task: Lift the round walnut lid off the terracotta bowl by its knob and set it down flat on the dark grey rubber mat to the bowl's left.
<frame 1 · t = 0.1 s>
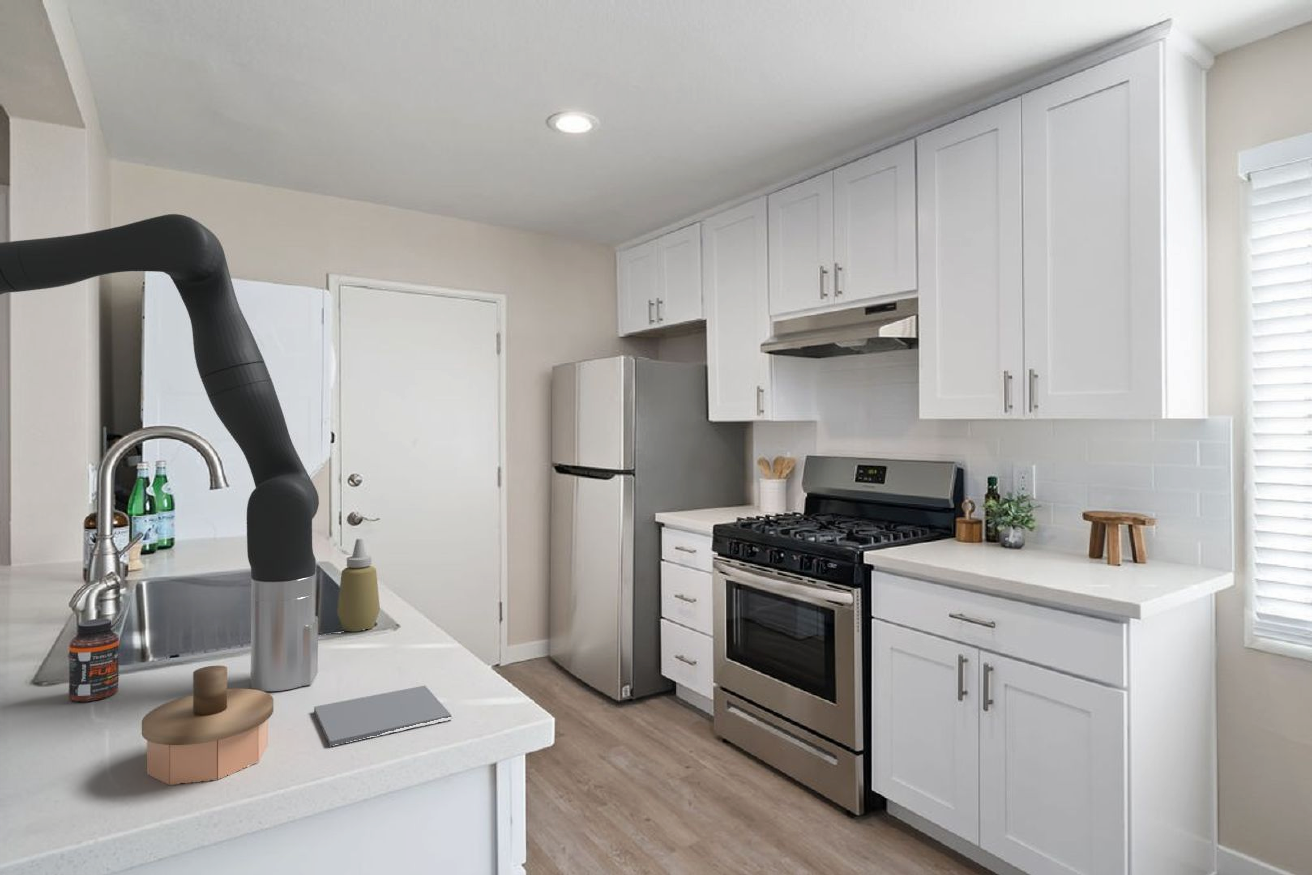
mat: (382, 716, 104), on the worktop
squeeze bottle: (358, 628, 145), on the worktop
bowl: (210, 758, 90), on the worktop
lid: (210, 719, 90), point 5 cm above the worktop, touching bowl
supplement bottle: (94, 696, 109), on the worktop
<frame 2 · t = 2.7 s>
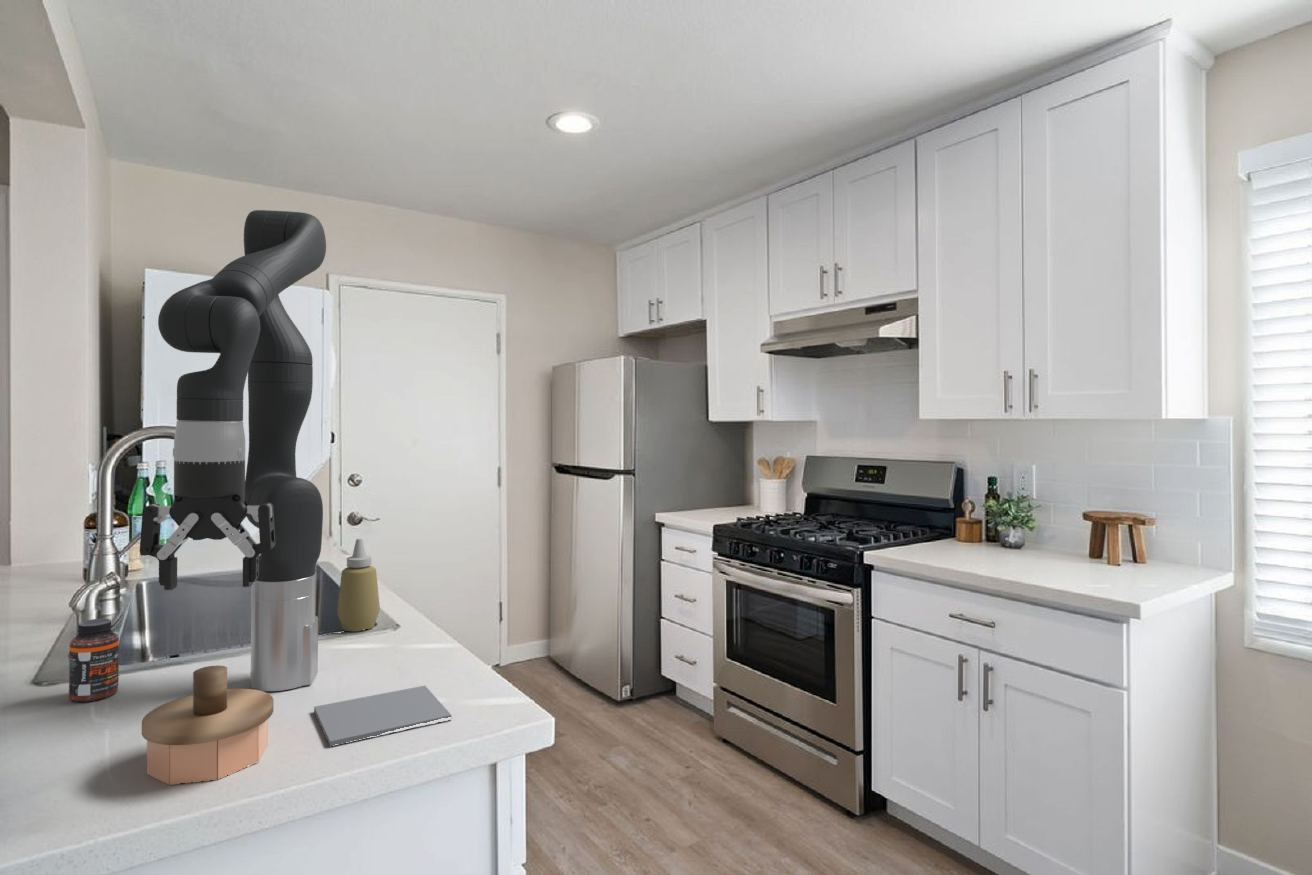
hand: (209, 587, 89), 22 cm above the worktop, tool pointing down, fingers open, 8 cm apart
nothing on the worktop moved.
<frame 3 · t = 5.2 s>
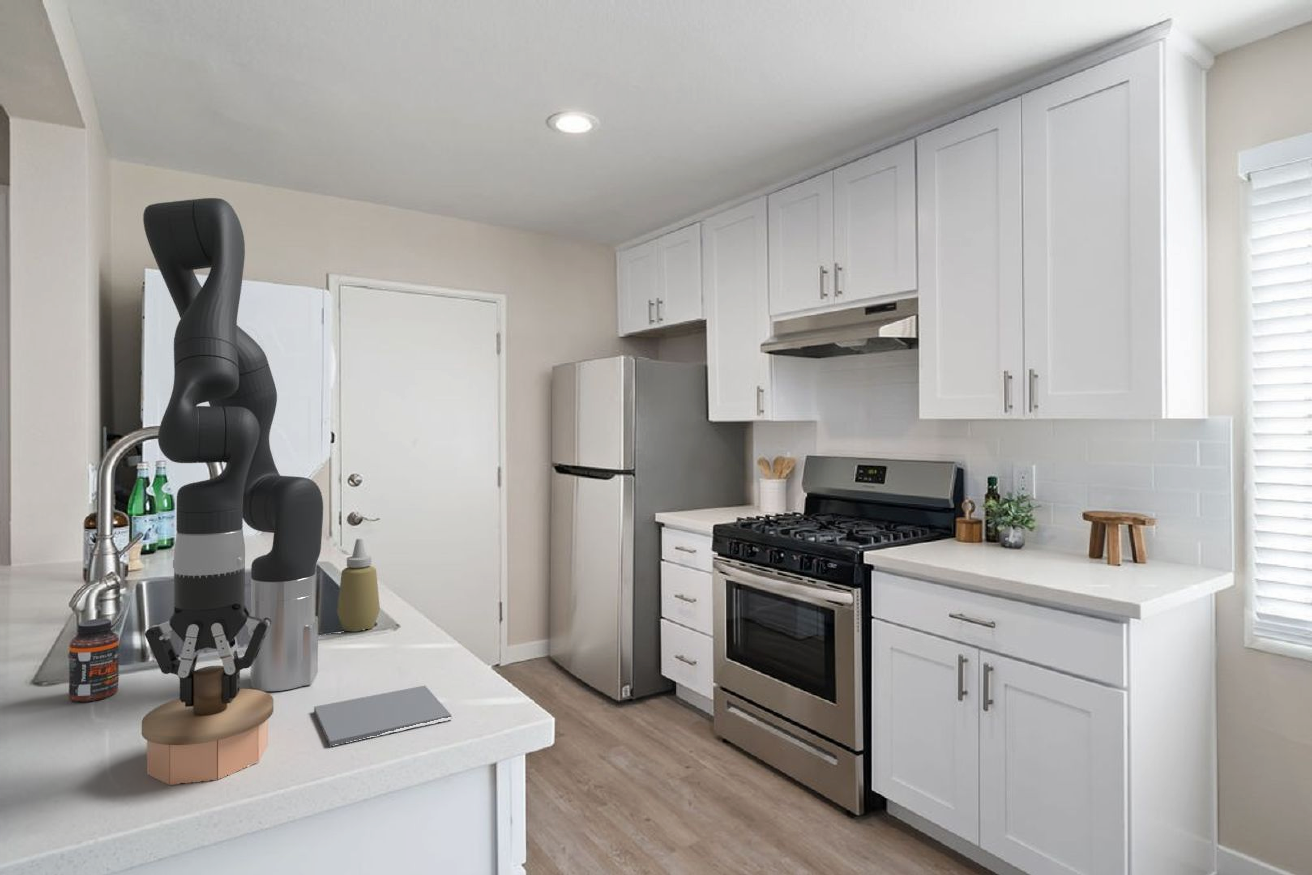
hand: (209, 702, 90), 7 cm above the worktop, tool pointing down, fingers closed on lid, 3 cm apart
lid: (210, 719, 90), point 5 cm above the worktop, touching bowl, gripper
everything else where it was.
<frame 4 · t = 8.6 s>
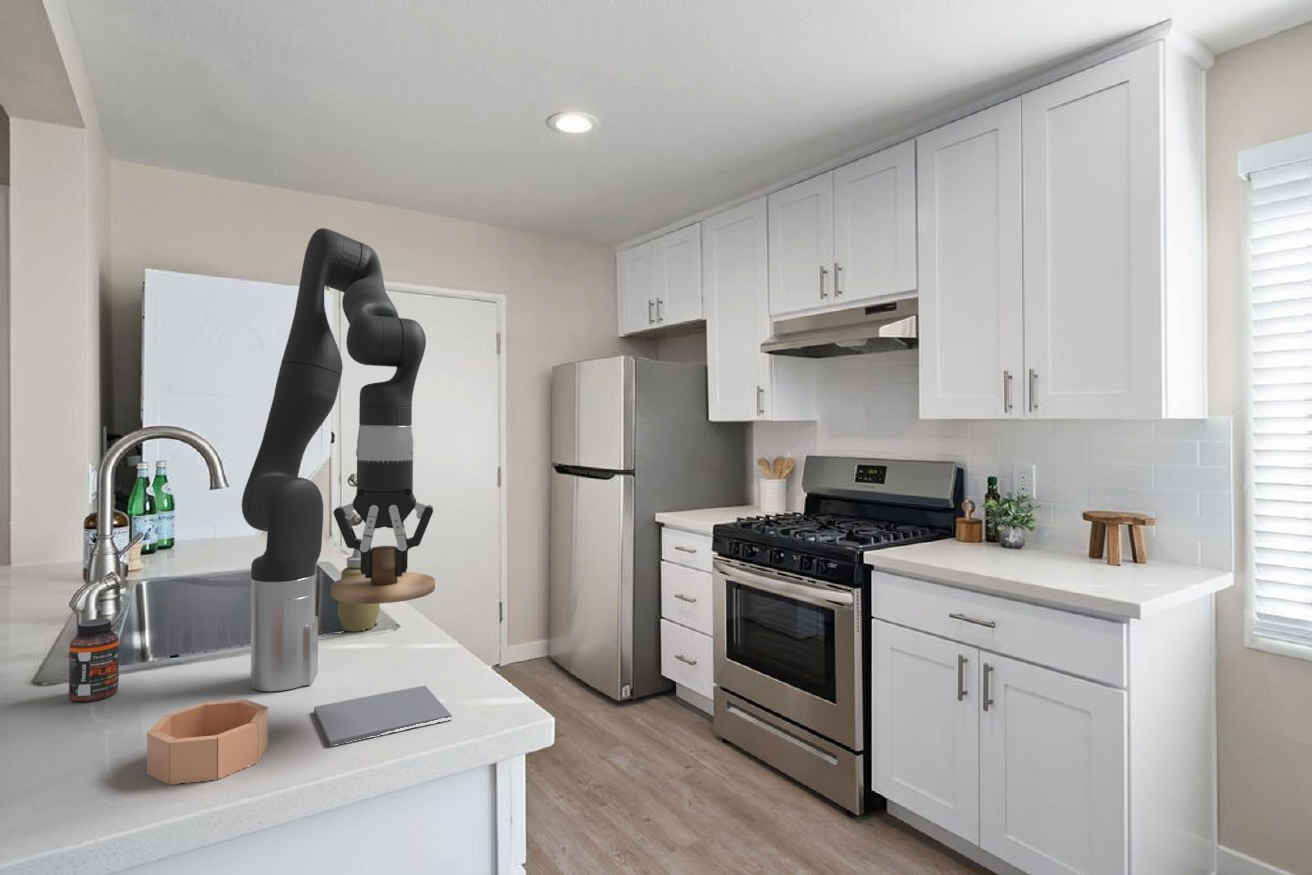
hand: (384, 575, 103), 20 cm above the worktop, tool pointing down, fingers closed on lid, 3 cm apart
lid: (384, 590, 103), point 18 cm above the worktop, touching gripper
everything else where it was.
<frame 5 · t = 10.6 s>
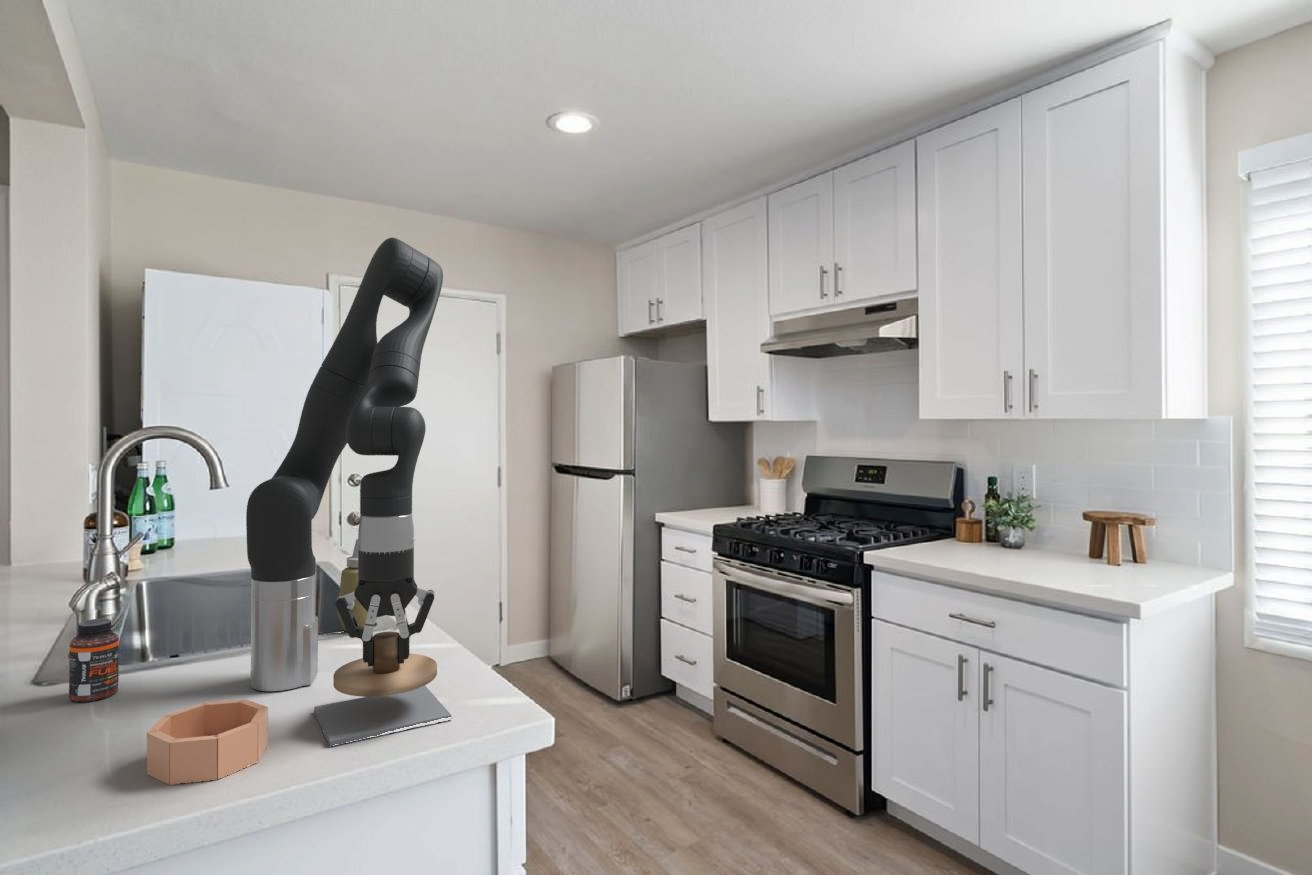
hand: (386, 662, 104), 8 cm above the worktop, tool pointing down, fingers closed on lid, 3 cm apart
lid: (386, 677, 104), point 5 cm above the worktop, touching gripper
everything else where it was.
when the fingers open (5 cm above the worktop, at t = 12.1 s): lid drops 2 cm, resting on mat.
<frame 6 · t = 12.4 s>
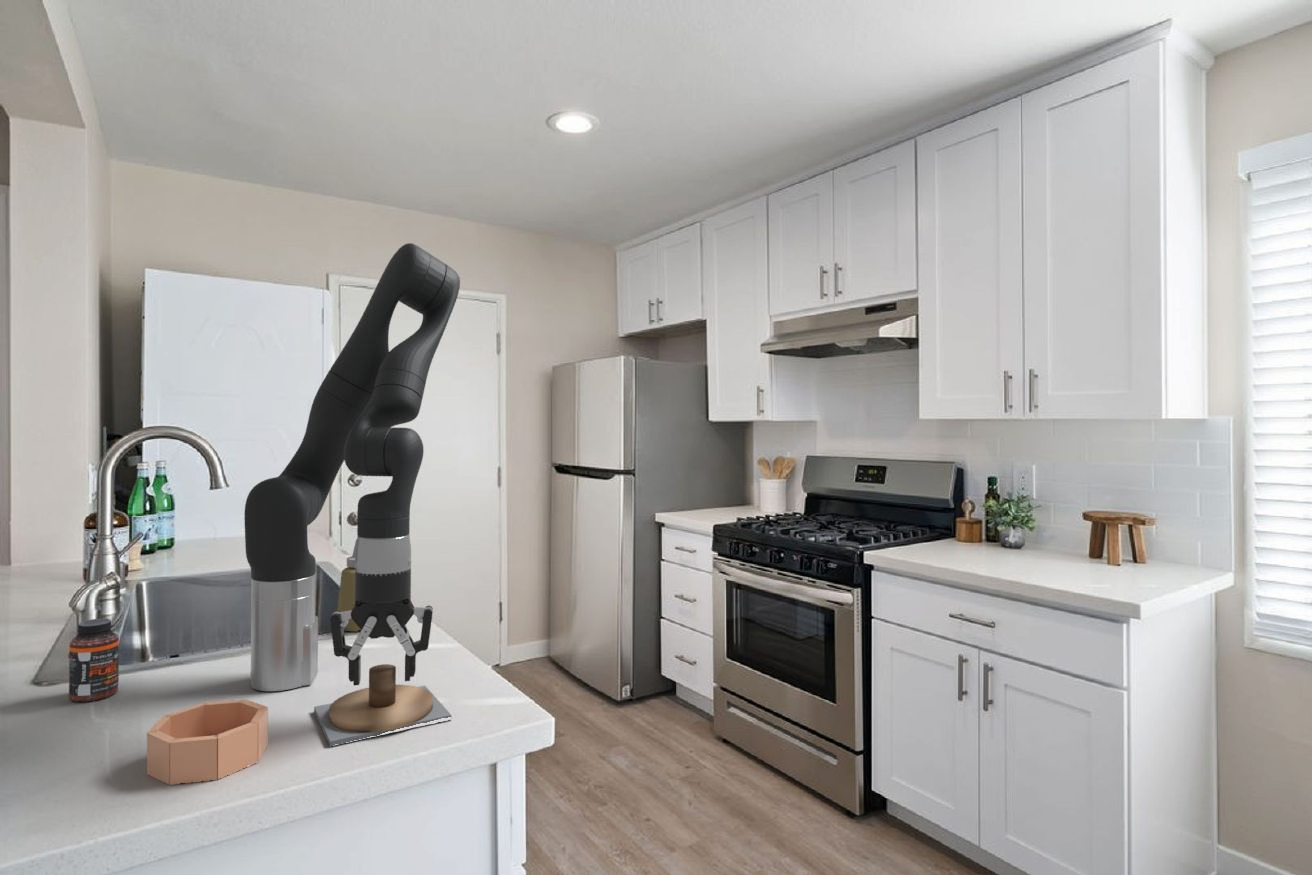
hand: (382, 680, 103), 5 cm above the worktop, tool pointing down, fingers open, 6 cm apart
lid: (382, 711, 103), point 1 cm above the worktop, touching mat
everything else where it was.
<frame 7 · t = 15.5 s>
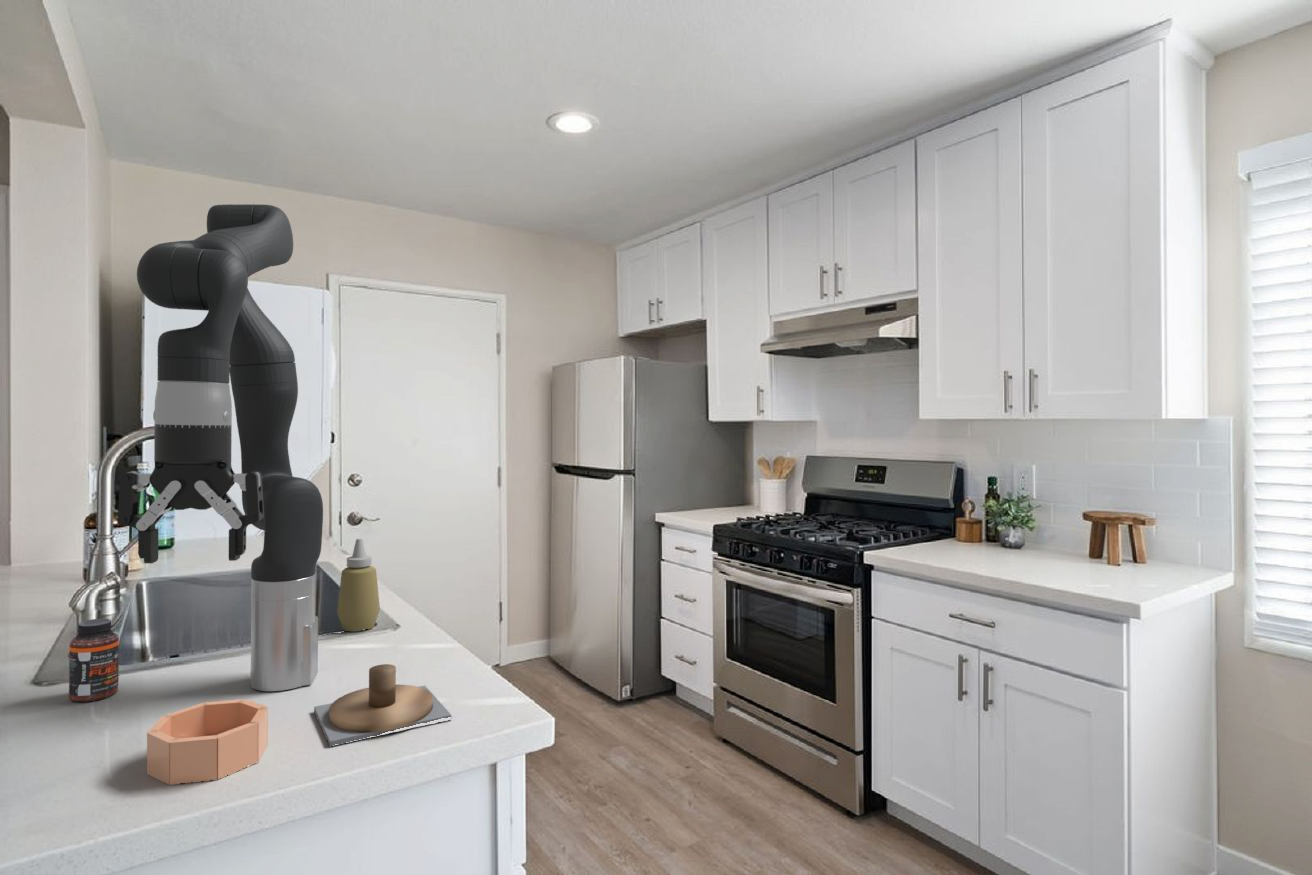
hand: (193, 560, 84), 26 cm above the worktop, tool pointing down, fingers open, 8 cm apart
nothing on the worktop moved.
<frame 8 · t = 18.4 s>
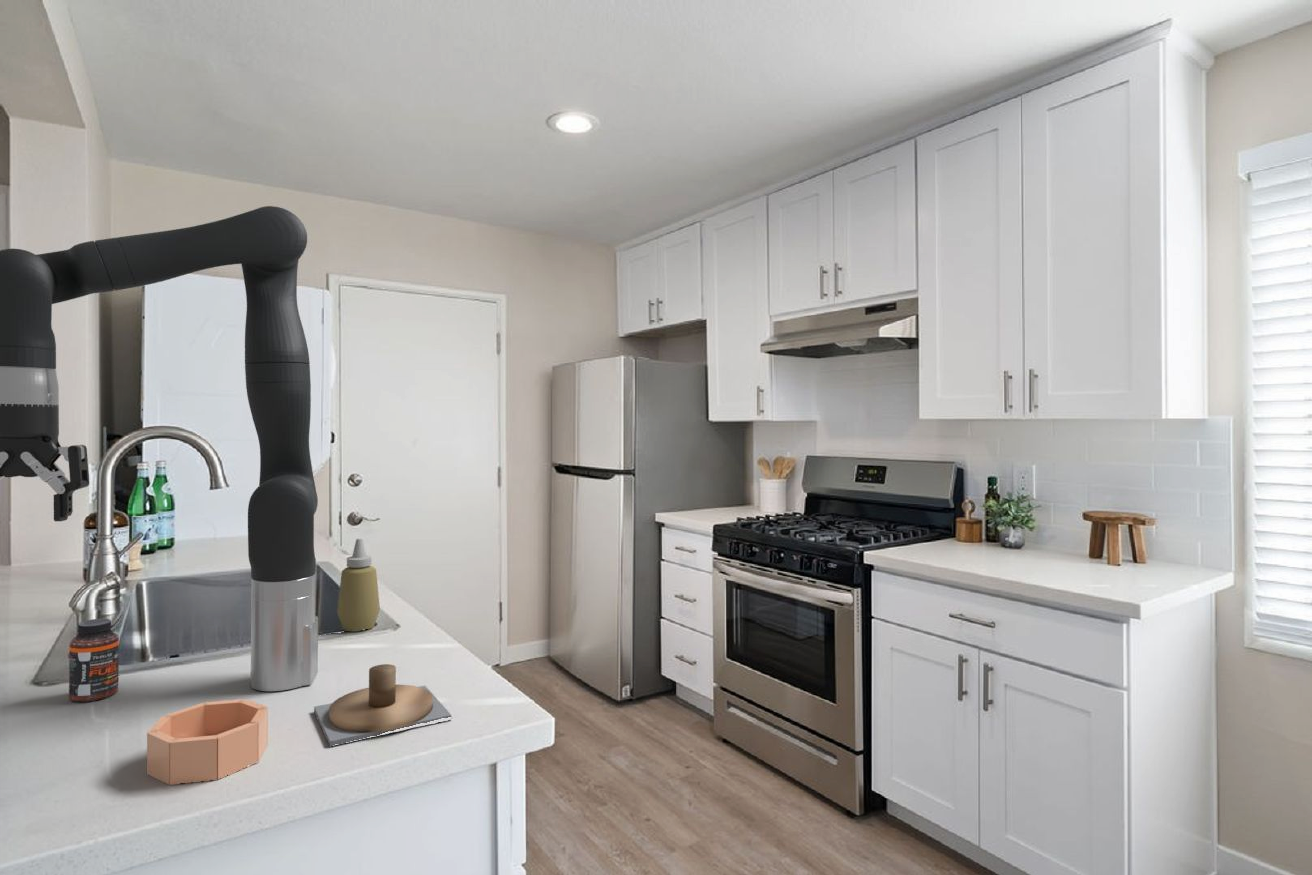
hand: (23, 521, 97), 28 cm above the worktop, tool pointing down, fingers open, 8 cm apart
nothing on the worktop moved.
at the end: lid inside the target area on the mat (0.1 cm from its centre), point 0.8 cm above the mat's base; lid touching mat; lid tilted 0° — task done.
